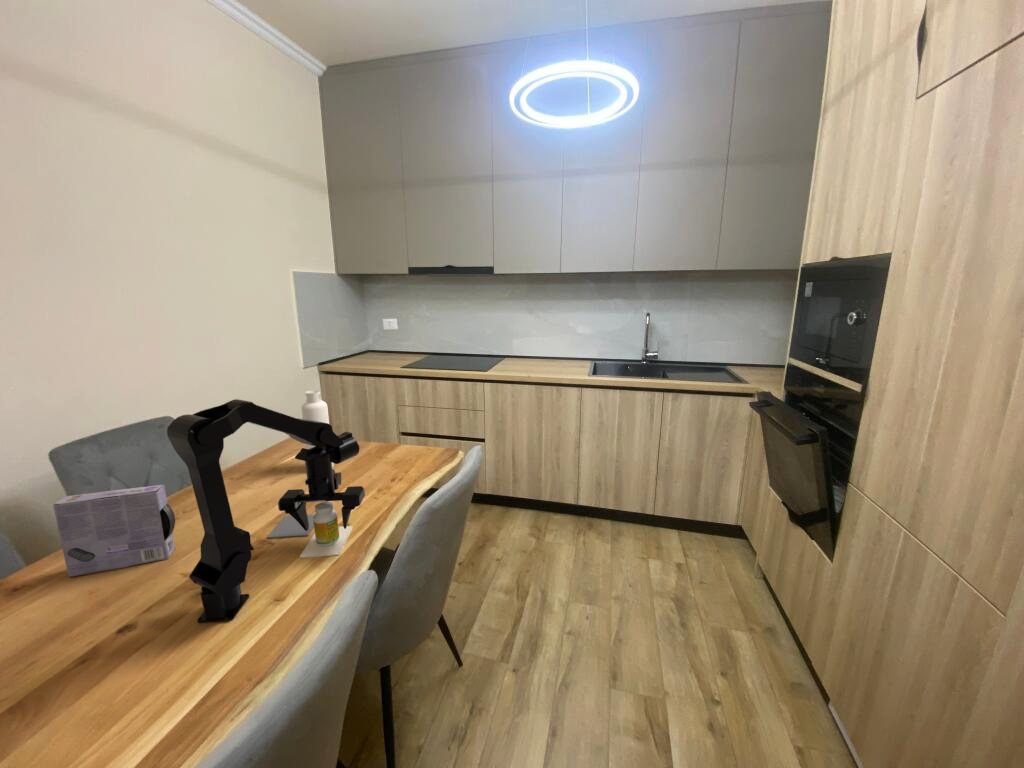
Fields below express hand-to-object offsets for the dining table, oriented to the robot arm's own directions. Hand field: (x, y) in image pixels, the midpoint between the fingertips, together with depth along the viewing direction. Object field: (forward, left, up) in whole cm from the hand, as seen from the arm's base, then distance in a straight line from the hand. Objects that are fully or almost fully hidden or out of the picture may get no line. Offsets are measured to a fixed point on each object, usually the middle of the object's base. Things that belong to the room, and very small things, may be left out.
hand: (326, 528), depth 101 cm
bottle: (+46, +17, -4) cm, 49 cm away
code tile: (0, 0, -4) cm, 4 cm away
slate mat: (+8, +11, -4) cm, 14 cm away
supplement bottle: (0, 0, -4) cm, 4 cm away
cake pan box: (-3, +44, -4) cm, 44 cm away
